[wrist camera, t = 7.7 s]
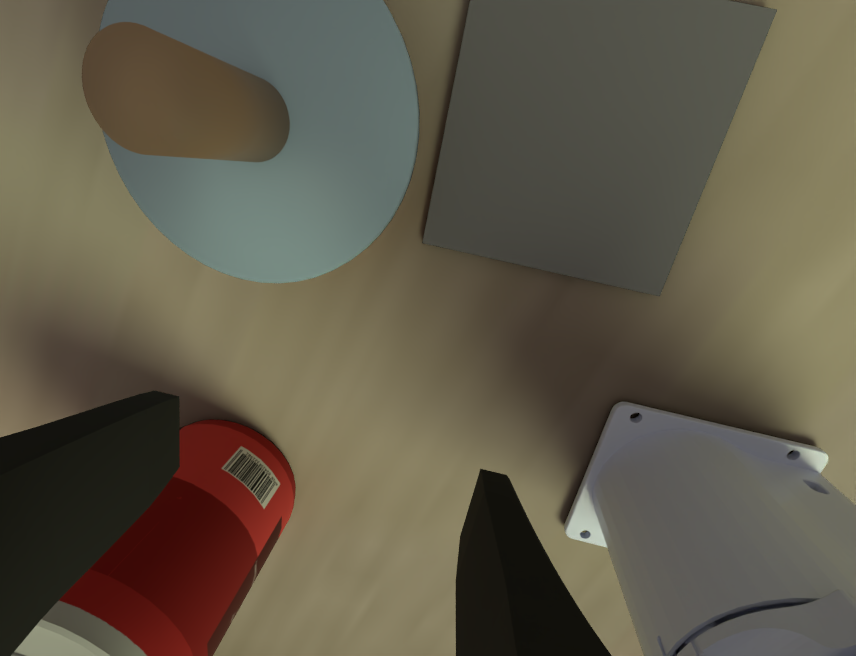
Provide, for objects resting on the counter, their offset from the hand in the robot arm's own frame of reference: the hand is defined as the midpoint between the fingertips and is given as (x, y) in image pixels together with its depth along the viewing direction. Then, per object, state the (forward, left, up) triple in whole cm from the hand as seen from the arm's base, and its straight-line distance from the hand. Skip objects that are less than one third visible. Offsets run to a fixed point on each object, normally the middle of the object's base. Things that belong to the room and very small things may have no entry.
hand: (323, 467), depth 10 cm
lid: (+6, -7, -7) cm, 12 cm away
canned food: (+8, +11, -11) cm, 17 cm away
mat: (-5, -9, -10) cm, 15 cm away
